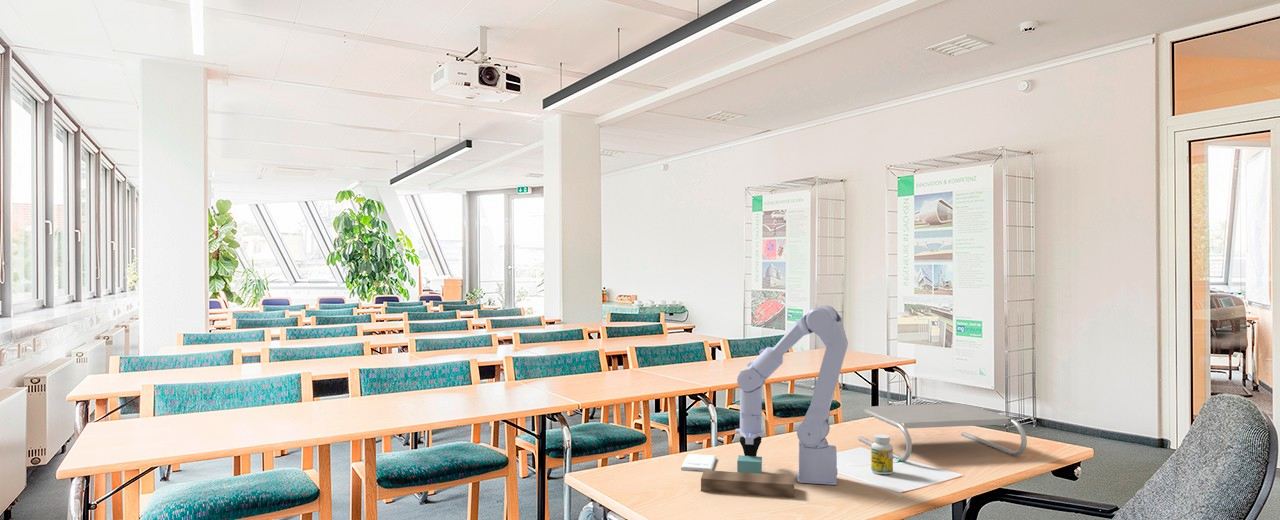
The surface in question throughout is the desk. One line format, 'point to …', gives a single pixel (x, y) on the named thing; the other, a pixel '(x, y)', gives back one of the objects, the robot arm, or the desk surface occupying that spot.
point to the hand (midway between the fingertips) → (750, 465)
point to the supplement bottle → (882, 455)
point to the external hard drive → (698, 462)
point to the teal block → (749, 464)
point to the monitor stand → (941, 421)
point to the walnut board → (747, 483)
